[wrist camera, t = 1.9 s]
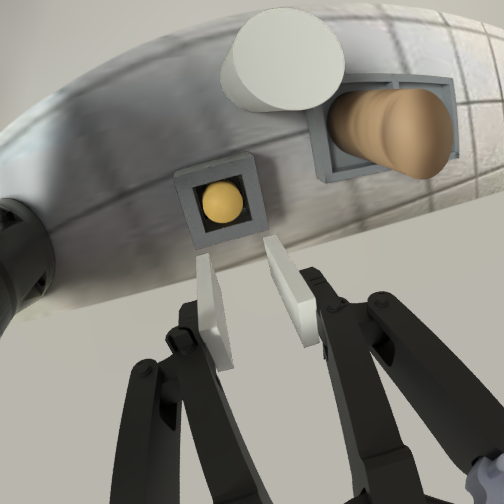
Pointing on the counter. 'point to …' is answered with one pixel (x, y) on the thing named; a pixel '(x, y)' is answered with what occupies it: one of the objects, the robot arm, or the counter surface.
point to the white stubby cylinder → (282, 62)
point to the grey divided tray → (324, 150)
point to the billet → (393, 129)
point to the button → (222, 201)
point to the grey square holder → (214, 170)
